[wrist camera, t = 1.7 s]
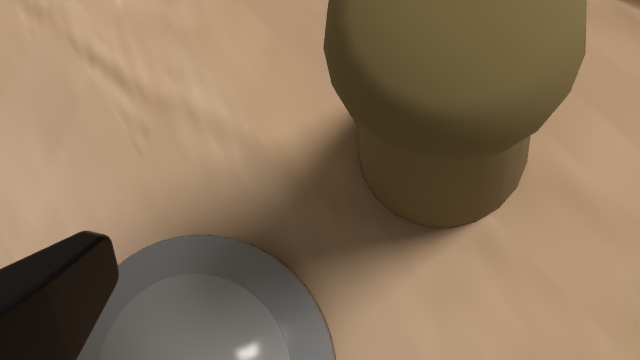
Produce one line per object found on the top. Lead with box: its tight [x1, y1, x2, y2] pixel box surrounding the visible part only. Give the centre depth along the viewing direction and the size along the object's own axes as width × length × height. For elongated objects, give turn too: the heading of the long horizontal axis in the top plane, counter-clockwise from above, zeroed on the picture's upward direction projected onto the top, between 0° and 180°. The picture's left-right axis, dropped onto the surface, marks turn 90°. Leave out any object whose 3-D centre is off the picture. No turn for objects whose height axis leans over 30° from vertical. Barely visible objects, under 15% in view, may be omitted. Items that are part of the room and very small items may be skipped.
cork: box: [324, 0, 587, 228], centre depth 16 cm, size 6×6×11 cm
